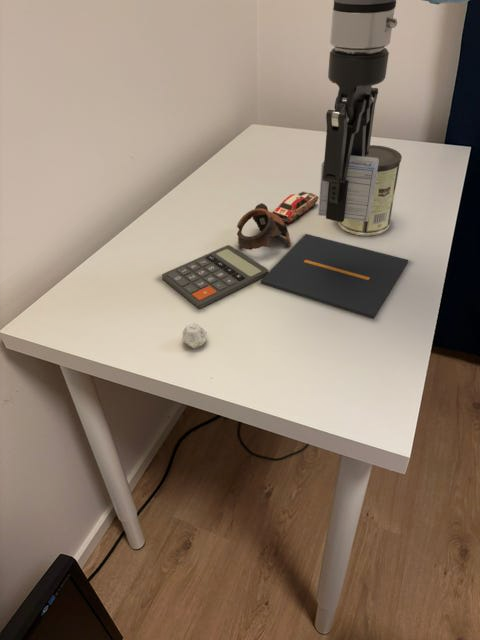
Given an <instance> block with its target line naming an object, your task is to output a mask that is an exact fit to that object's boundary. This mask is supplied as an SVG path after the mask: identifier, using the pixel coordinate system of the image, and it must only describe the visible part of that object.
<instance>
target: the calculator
mask: <svg viewBox="0 0 480 640" xmlns="http://www.w3.org/2000/svg"><path fill="white" fill-rule="evenodd" d="M268 273H269V269H268V268H267V267H265V266H263V265H262V264H260V263H259V262H257V261H256V260H254V259H252V258H250V257H249V256H248V255H246V254H244V253H243V252H241V251H240V250H238V249H237V248H235V247H233V246H231V245H230V244H227V245H225V246H222V247H220V248H217V249H216V250H214V251H213V250H212V251H211V252H209V253H207V254H204V255H202V256H200V257H197V258H195V259H193V260H190V261H188V262H186V263H183V264H182V265H180V266H178V267H175V268H173V269H170V270H168V271H166V272H164V273H162V274H161V278H162V280H163V281H164V282H165V283H167V284H168V285H169V286H170V287H172V289H174V290H175V291H176V292H178V293H179V294H180V295H181V296H183V297H184V298H185V299H186V300H188V301H189V302H190V303H191V304H193V305H194V306H195V307H196V308H198V309H202V308H205V307H207V306H208V305H210V304H212V303H214V302H217V301H218V300H221V299H222V298H225V297H226V296H229V295H230V294H232V293H234V292H236V291H238V290H240V289H242V288H244V287H247V286H248V285H250V284H252V283H254V282H256V281H258V280H260V279H263V278H264V277H265V276H266V275H267V274H268Z"/></svg>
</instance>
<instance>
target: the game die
mask: <svg viewBox="0 0 480 640" xmlns="http://www.w3.org/2000/svg"><path fill="white" fill-rule="evenodd" d="M207 333H208V331H206V330H205V329H204V328H203V327H202V326H201V325H199V324H197V323H196V322H193V323H191V324H189V325H185V328H184V329H183V331H182V336H181V341H183V342H184V343H185V344H186V345H187V346H189V347H190V348H192V349H196V348H197V349H198V348H199V347H202V346H203V345H204V344H205V343H206V341H207Z"/></svg>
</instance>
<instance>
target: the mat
mask: <svg viewBox="0 0 480 640" xmlns="http://www.w3.org/2000/svg"><path fill="white" fill-rule="evenodd" d="M408 263H409V259H407V258H403V257H399V256H396V255H395V256H394V255H391V254H387V253H383V252H379V251H375V250H371V249H367V248H364V247H359V246H355V245H351V244H347V243H345V242H344V243H343V242H339V241H335V240H331V239H328V238H323V237H319V236H316V235H312V234H308V233H305V234H304V235H303V236H302V237H301V238H300V239H299V240H298V242H296V244H294V246H292V247H291V248H290V250H289V251H288V252H287V253H286V254H285V255H284V256H283V257H282V258H281V259H280V260H279V261H278V262H277V263H276V264H275V265H274V266H273V267H272V268H271V269H270V270H269V271H268V274H267V275H266V276H264V277H262V278H261V280H260V284H262V285H264V286H265V285H266V286H268V287H271V288H274V289H277V290H281V291H283V292H287V293H291V294H294V295H296V296H299V297H303V298H305V299H310V300H311V301H316V302H319V303H321V304H325V305H328V306H332V307H335V308H338V309H342V310H344V311H347V312H350V313H354V314H357V315H361V316H363V317H367V318H370V319H373V320H374V319H375V318H376V315H377V314H378V313H379V311H380V309H381V308H382V306H383V304H384V302H385V301H386V299H387V298H388V296H389V294H390V292H391V291H392V290H393V288H394V286H395V285H396V283H397V281H398V279H399V278H400V276H401V274H402V273H403V271H404V270H405V268H406V266H407V265H408Z"/></svg>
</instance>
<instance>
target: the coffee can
mask: <svg viewBox="0 0 480 640" xmlns="http://www.w3.org/2000/svg"><path fill="white" fill-rule="evenodd" d="M365 157H366V156H365ZM367 157H372V158H378V159H379V163H378V170H377V177H376V184H375V191H374V198H373V206H372V211H371V214H370V217H369V220H368V221H360V220H352V219H344V221H343V222H338V221H337V225H338V227H340V229H341V230H343V231H345V232H346V233H348V234H352V235H357V236H363V237H364V236H365V237H372V236H376V235H381V234H384V233H385V232H386V231H388V229H389V228H390V222H391V217H392V210H393V207H394V206H393V204H394V199H395V193H396V187H397V182H398V177H399V170H400V164H401V162H402V158H403V156H402V154H401V153H400V152H399V151H397V150H396V149H394V148H392V147H388V146H384V145H374V144H370V148H369V155H368V156H367Z"/></svg>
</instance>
